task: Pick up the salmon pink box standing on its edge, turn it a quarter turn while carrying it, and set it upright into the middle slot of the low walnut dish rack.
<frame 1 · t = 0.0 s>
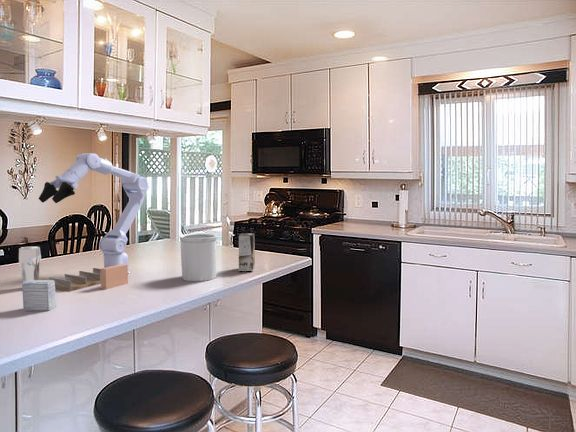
hand: (47, 200, 154), 32 cm above the countertop, tool tilted 50°, fingers open, 7 cm apart
coffee box: (246, 270, 192), on the countertop
beer glass: (31, 288, 159), on the countertop
salmon pink box: (114, 286, 162), on the countertop
utensil holder: (199, 278, 177), on the countertop
medicine box: (40, 309, 134), on the countertop
dish rack: (83, 283, 166), on the countertop
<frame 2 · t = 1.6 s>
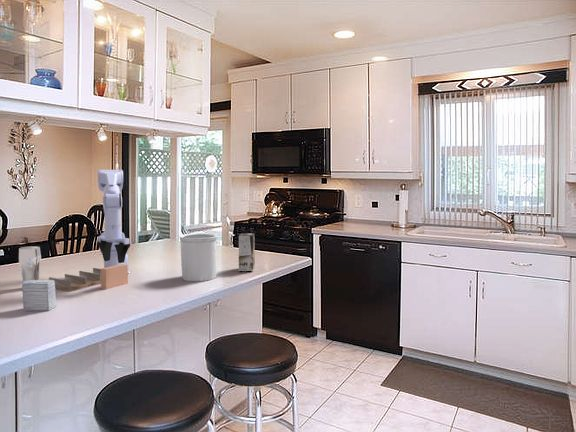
hand: (114, 261, 162), 9 cm above the countertop, tool pointing down, fingers open, 7 cm apart
nothing on the countertop moved.
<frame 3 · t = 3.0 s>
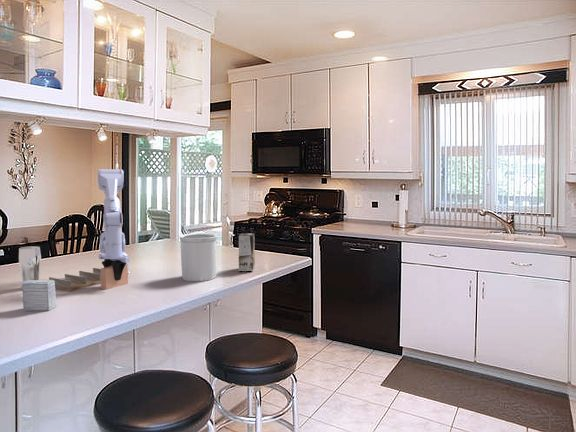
hand: (114, 279, 162), 2 cm above the countertop, tool pointing down, fingers closed on salmon pink box, 3 cm apart
salmon pink box: (114, 285, 162), on the countertop, touching gripper
everything else where it was.
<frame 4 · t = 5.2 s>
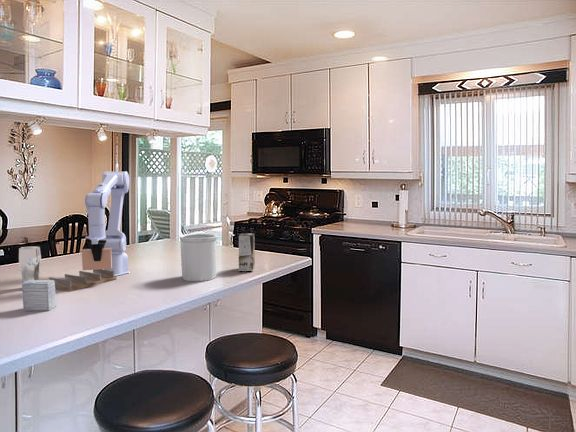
hand: (98, 260, 164), 9 cm above the countertop, tool pointing down, fingers closed on salmon pink box, 3 cm apart
salmon pink box: (97, 268, 164), point 6 cm above the countertop, touching gripper
everything else where it was.
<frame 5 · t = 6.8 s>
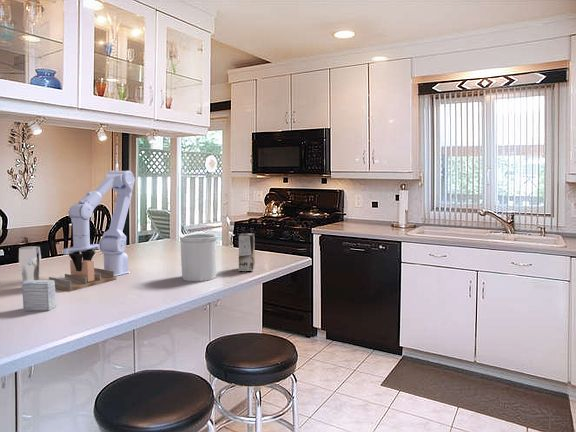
hand: (82, 270, 166), 5 cm above the countertop, tool pointing down, fingers closed on salmon pink box, 3 cm apart
salmon pink box: (82, 279, 166), point 1 cm above the countertop, touching gripper
everything else where it was.
when the fingers open (5 cm above the countertop, at t = 7.5 s): salmon pink box stays where it is, resting on dish rack.
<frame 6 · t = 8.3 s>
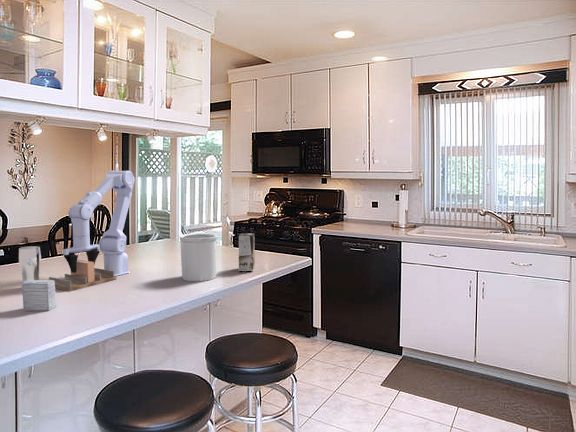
hand: (82, 270, 166), 5 cm above the countertop, tool pointing down, fingers open, 7 cm apart
salmon pink box: (82, 280, 166), point 1 cm above the countertop, touching dish rack
everything else where it was.
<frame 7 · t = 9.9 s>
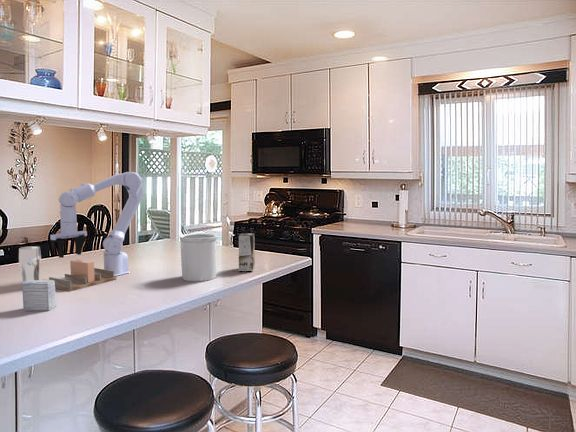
hand: (70, 255, 172), 9 cm above the countertop, tool pointing down, fingers open, 7 cm apart
nothing on the countertop moved.
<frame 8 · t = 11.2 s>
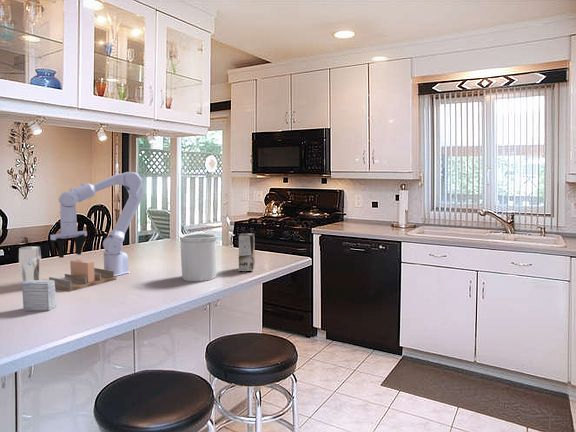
hand: (70, 255, 172), 9 cm above the countertop, tool pointing down, fingers open, 7 cm apart
nothing on the countertop moved.
at the end: salmon pink box 0.2 cm off-centre on the dish rack, point 1.0 cm above the dish rack's base; salmon pink box tilted 0°; the gripper is holding nothing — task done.
